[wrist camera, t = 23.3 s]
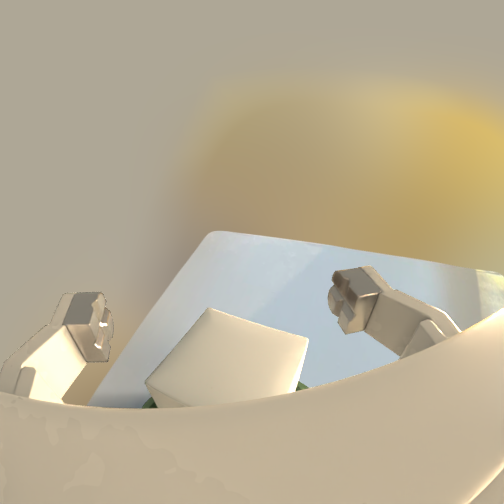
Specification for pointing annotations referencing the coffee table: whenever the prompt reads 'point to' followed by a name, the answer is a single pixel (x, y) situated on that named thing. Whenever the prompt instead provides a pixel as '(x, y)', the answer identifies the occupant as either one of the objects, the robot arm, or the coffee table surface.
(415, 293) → the coffee table surface
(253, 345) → the white packaging box
